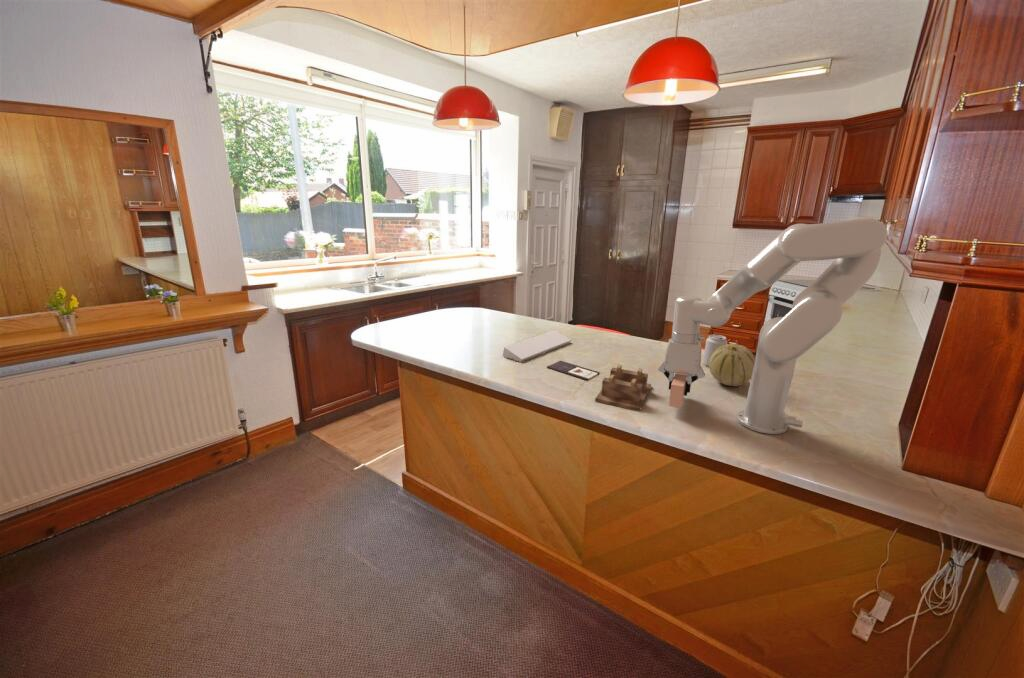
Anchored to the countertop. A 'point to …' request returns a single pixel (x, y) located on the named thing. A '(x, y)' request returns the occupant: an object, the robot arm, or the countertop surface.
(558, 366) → the chocolate bar
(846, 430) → the countertop surface
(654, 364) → the countertop surface
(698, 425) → the countertop surface
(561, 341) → the decorative molding
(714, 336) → the can
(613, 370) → the brown cradle stand
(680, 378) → the salmon pink rectangular block
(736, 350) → the cantaloupe
